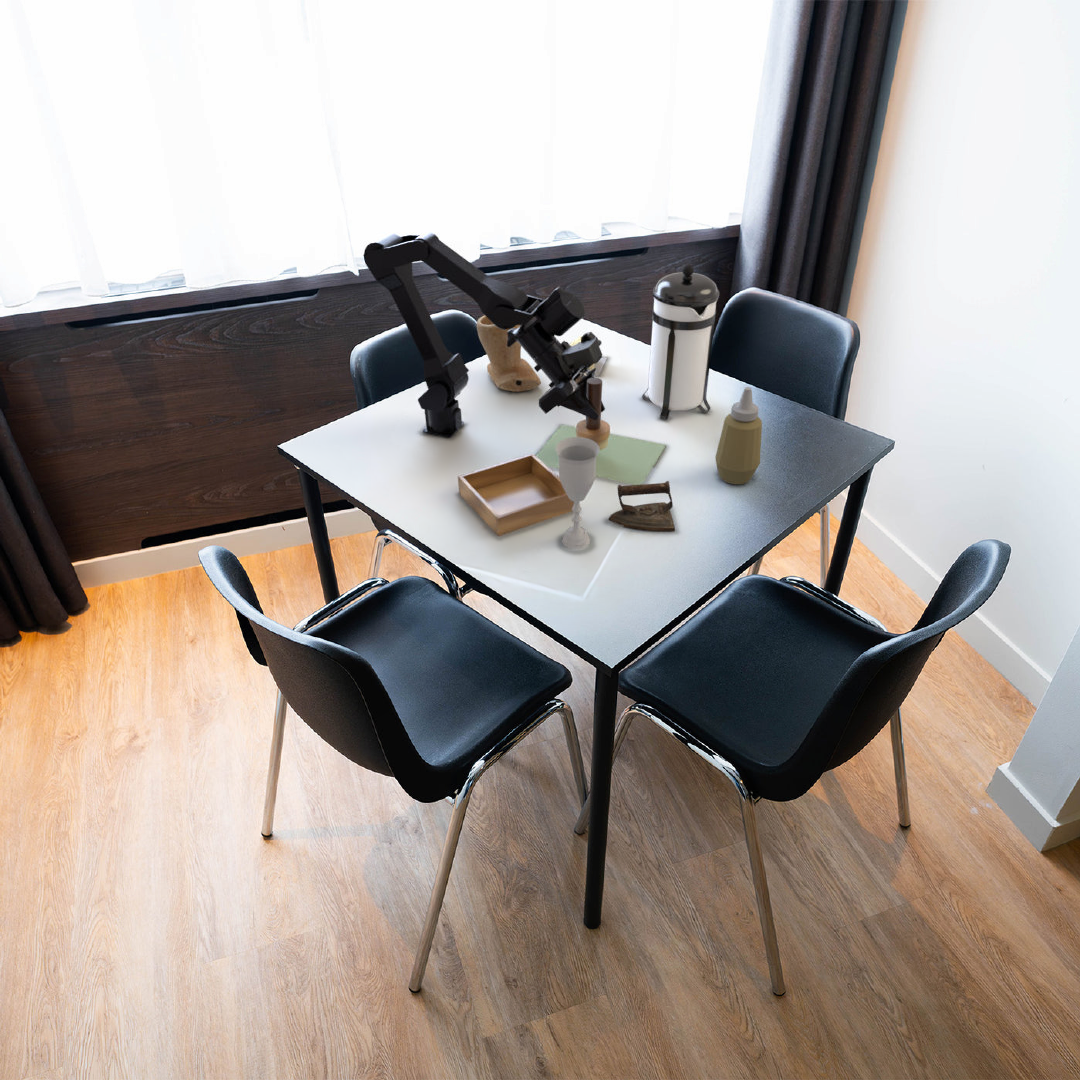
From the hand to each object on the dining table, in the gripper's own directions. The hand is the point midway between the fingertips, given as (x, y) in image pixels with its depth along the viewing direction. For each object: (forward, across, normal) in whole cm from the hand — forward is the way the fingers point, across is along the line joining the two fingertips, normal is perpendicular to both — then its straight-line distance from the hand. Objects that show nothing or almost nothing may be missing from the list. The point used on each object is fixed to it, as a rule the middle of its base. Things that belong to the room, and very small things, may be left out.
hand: (600, 414), depth 157 cm
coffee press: (+11, +27, +2) cm, 29 cm away
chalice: (+11, -27, +3) cm, 29 cm away
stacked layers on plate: (-6, +38, +19) cm, 43 cm away
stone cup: (-15, +24, +28) cm, 40 cm away
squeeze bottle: (+25, +3, -12) cm, 28 cm away
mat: (+6, +1, +7) cm, 9 cm away
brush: (+4, 0, +6) cm, 7 cm away
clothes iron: (+16, -17, -3) cm, 24 cm away
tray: (+1, -20, +12) cm, 24 cm away
